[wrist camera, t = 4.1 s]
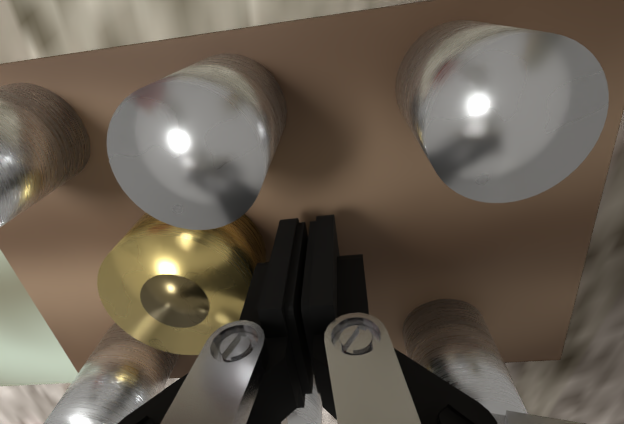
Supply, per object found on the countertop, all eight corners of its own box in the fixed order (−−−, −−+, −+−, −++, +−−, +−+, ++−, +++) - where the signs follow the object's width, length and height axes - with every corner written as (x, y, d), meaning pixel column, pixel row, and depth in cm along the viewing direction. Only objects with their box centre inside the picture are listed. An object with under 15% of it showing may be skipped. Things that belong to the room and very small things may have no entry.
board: (-245, 100, 12) (-280, 106, 12) (635, -31, 9) (659, -33, 9) (-23, 373, 18) (-37, 388, 18) (550, 343, 16) (560, 359, 15)
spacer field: (-34, 89, 11) (-206, 132, 7) (518, 11, 9) (629, 18, 6) (121, 372, 17) (65, 472, 13) (481, 354, 15) (525, 463, 12)
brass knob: (116, 201, 13) (68, 245, 10) (249, 185, 12) (229, 228, 10) (163, 305, 15) (131, 360, 12) (278, 295, 14) (266, 351, 12)
